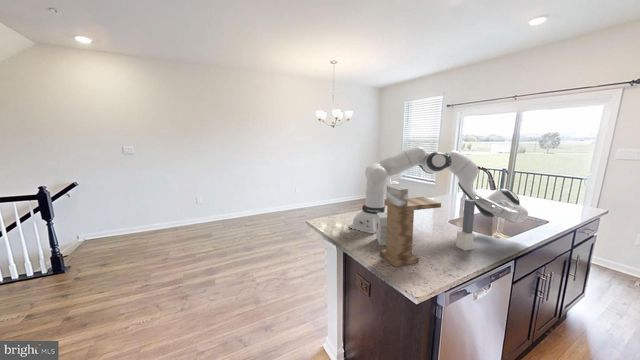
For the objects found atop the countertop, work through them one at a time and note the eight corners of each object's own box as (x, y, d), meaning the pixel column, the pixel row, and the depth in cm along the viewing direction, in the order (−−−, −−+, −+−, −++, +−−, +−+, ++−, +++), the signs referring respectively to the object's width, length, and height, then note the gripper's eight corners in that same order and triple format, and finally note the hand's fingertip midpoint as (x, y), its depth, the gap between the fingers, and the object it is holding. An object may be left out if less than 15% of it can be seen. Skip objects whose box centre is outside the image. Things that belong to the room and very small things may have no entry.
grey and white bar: (468, 198, 119) (459, 199, 118) (477, 201, 114) (468, 202, 113) (464, 245, 123) (456, 246, 122) (472, 249, 118) (464, 250, 117)
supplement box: (375, 238, 133) (376, 212, 131) (392, 238, 133) (393, 212, 130) (379, 245, 124) (380, 217, 122) (397, 245, 124) (398, 217, 121)
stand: (419, 248, 120) (423, 182, 115) (437, 259, 109) (442, 187, 104) (379, 254, 114) (381, 185, 109) (394, 266, 103) (396, 190, 98)
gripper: (487, 194, 130) (469, 188, 125) (526, 213, 111) (507, 207, 106) (481, 204, 131) (463, 199, 126) (518, 225, 113) (499, 219, 108)
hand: (483, 203), depth 116 cm, fingers open, 8 cm apart
